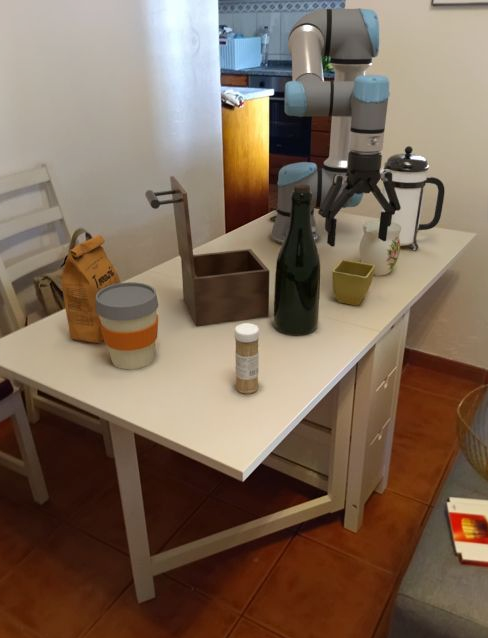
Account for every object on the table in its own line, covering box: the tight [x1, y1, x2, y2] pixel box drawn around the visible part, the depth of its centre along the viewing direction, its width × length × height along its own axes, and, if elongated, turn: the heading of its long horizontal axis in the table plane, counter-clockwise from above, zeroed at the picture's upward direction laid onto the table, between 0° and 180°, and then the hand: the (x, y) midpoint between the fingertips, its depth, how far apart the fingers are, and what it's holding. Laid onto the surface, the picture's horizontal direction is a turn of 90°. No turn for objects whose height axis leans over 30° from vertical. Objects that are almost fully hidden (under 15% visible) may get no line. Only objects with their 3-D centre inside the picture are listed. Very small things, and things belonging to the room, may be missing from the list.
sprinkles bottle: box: [234, 322, 260, 395], centre depth 113 cm, size 5×5×13 cm
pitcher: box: [359, 220, 401, 277], centre depth 166 cm, size 11×18×14 cm, turn 143°
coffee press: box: [378, 145, 446, 251], centre depth 180 cm, size 17×16×30 cm
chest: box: [180, 248, 271, 327], centre depth 144 cm, size 18×15×12 cm
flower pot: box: [331, 259, 375, 306], centre depth 149 cm, size 9×9×9 cm
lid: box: [144, 175, 196, 277], centre depth 133 cm, size 19×15×7 cm
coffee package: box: [61, 234, 121, 343], centre depth 131 cm, size 10×12×22 cm
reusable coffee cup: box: [96, 281, 160, 370], centre depth 123 cm, size 13×13×15 cm
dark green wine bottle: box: [273, 184, 321, 336], centre depth 131 cm, size 10×10×33 cm
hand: (356, 242), depth 143 cm, fingers open, 13 cm apart
